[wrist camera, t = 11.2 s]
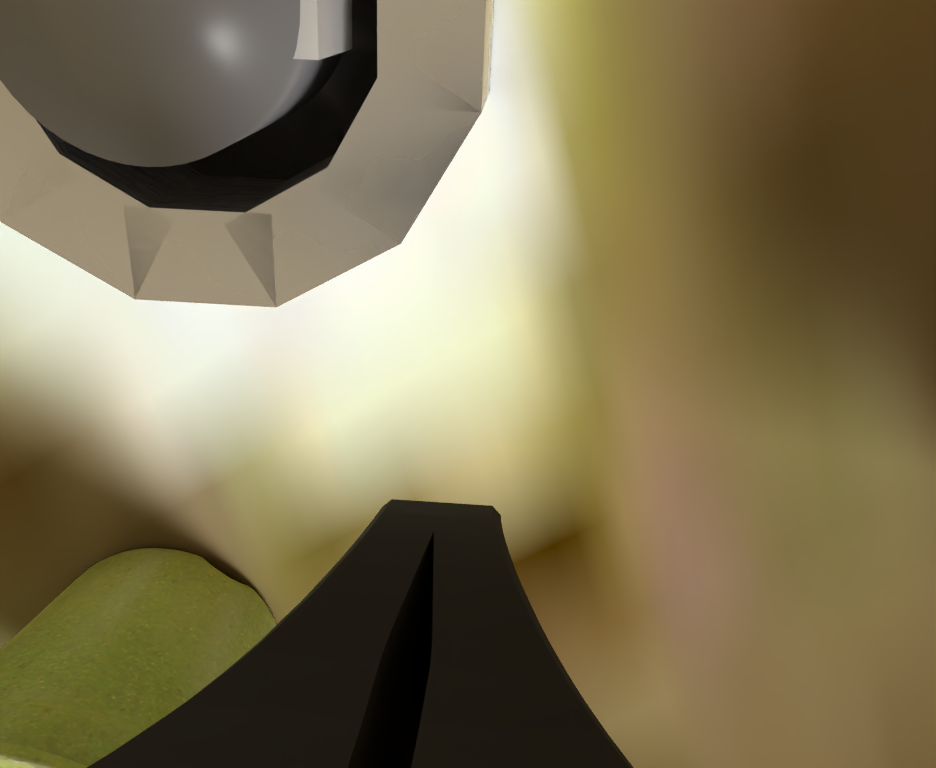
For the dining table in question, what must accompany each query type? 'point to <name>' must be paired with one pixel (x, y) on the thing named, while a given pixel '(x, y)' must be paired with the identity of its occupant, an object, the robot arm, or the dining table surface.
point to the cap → (167, 70)
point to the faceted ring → (268, 172)
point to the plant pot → (120, 655)
